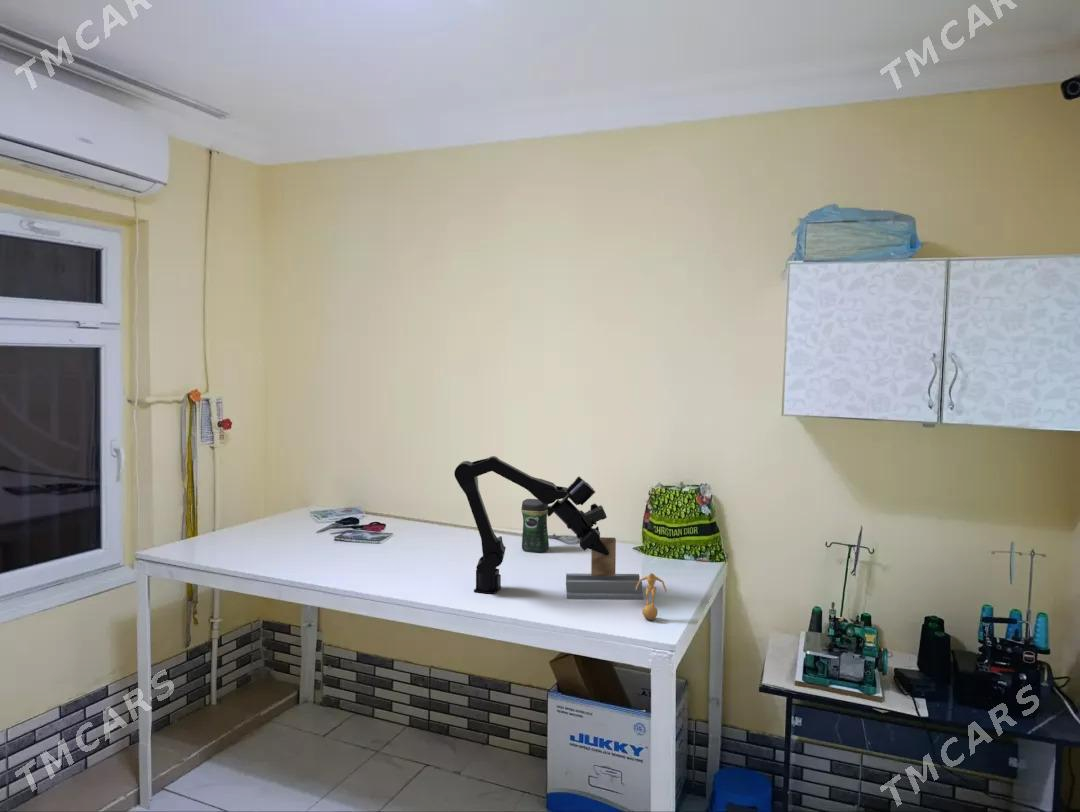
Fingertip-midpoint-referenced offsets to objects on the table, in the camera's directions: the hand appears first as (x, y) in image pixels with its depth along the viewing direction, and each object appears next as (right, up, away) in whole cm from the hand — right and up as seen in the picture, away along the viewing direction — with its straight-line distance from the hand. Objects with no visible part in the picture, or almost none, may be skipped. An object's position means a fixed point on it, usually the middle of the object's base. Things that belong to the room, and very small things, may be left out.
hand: (607, 553), depth 213 cm
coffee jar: (-22, -9, +47) cm, 53 cm away
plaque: (-1, -7, 0) cm, 7 cm away
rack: (-1, -11, +1) cm, 12 cm away
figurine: (+9, -13, -22) cm, 27 cm away
